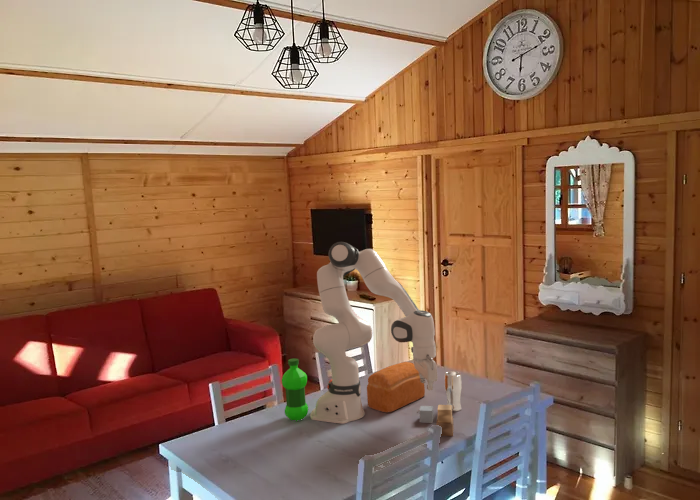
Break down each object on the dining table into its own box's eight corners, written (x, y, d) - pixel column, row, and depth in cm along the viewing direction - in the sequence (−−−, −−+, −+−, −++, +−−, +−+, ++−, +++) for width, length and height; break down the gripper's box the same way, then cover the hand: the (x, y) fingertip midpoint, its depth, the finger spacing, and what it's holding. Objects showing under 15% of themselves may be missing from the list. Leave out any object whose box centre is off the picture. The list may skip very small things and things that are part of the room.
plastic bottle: (304, 424, 238) (300, 364, 235) (280, 422, 242) (276, 363, 239) (313, 415, 248) (309, 356, 245) (290, 413, 251) (286, 355, 248)
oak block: (437, 422, 222) (437, 409, 221) (439, 417, 226) (438, 404, 226) (451, 423, 220) (451, 410, 220) (452, 417, 225) (451, 405, 225)
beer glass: (443, 410, 245) (441, 375, 244) (448, 404, 251) (447, 370, 250) (459, 412, 242) (458, 377, 240) (464, 406, 248) (463, 371, 247)
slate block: (419, 422, 235) (419, 410, 234) (421, 417, 239) (420, 405, 239) (432, 423, 233) (432, 410, 233) (433, 418, 238) (433, 406, 238)
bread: (428, 396, 262) (426, 361, 261) (389, 414, 244) (387, 377, 242) (404, 389, 272) (402, 356, 270) (364, 407, 254) (362, 371, 252)
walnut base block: (436, 435, 222) (436, 423, 221) (437, 429, 228) (437, 416, 227) (452, 436, 220) (452, 423, 220) (453, 429, 226) (453, 417, 226)
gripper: (440, 357, 224) (442, 393, 225) (424, 345, 244) (426, 377, 245) (424, 359, 223) (426, 395, 224) (409, 346, 243) (411, 379, 244)
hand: (426, 386), depth 235 cm, fingers open, 8 cm apart
